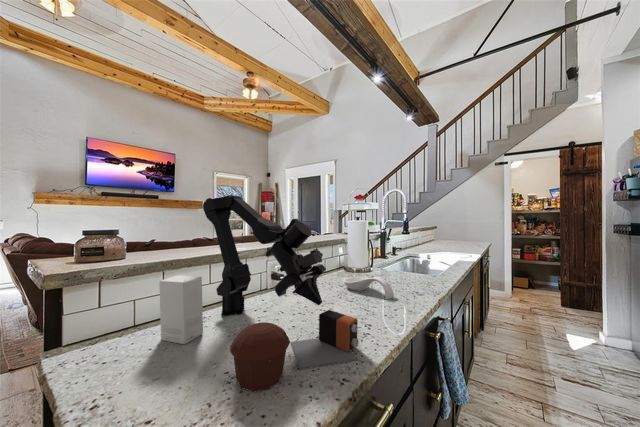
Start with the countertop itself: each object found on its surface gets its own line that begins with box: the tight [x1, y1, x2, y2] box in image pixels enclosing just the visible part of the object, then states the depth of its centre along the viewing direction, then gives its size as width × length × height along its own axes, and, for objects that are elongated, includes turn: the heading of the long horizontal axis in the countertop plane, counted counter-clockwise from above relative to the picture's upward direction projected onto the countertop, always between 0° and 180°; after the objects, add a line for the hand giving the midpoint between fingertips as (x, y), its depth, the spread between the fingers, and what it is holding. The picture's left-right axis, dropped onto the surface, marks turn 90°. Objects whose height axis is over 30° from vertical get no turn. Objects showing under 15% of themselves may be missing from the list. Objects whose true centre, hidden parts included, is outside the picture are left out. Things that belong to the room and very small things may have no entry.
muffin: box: [229, 321, 291, 393], centre depth 51 cm, size 12×11×10 cm
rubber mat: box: [290, 337, 358, 370], centre depth 60 cm, size 13×11×1 cm
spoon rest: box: [343, 276, 395, 300], centre depth 108 cm, size 24×12×7 cm, turn 40°
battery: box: [318, 309, 359, 352], centre depth 63 cm, size 4×7×10 cm
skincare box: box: [158, 274, 204, 345], centre depth 67 cm, size 8×7×16 cm
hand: (320, 303), depth 69 cm, fingers closed
